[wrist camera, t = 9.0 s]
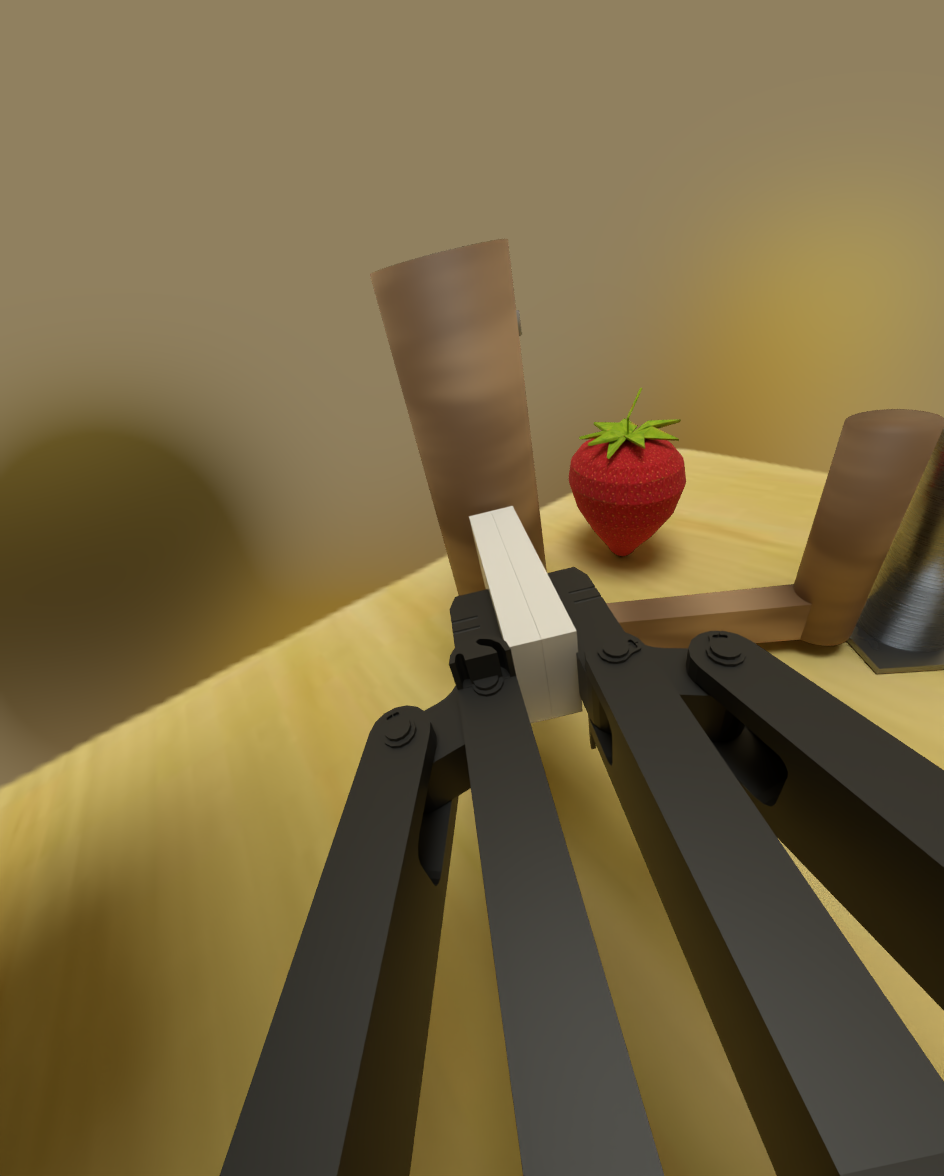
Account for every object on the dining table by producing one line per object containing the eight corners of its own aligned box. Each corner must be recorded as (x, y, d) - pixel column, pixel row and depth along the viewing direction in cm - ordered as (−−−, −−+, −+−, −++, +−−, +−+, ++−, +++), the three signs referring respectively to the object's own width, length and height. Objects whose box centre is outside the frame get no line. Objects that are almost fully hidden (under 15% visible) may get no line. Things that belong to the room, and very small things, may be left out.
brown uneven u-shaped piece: (819, 596, 20) (994, 115, 11) (877, 657, 17) (1192, 50, 8) (479, 629, 23) (388, 274, 14) (474, 685, 20) (351, 275, 11)
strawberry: (630, 517, 31) (633, 369, 25) (702, 567, 25) (729, 386, 19) (556, 541, 30) (542, 395, 24) (612, 598, 24) (611, 421, 18)
